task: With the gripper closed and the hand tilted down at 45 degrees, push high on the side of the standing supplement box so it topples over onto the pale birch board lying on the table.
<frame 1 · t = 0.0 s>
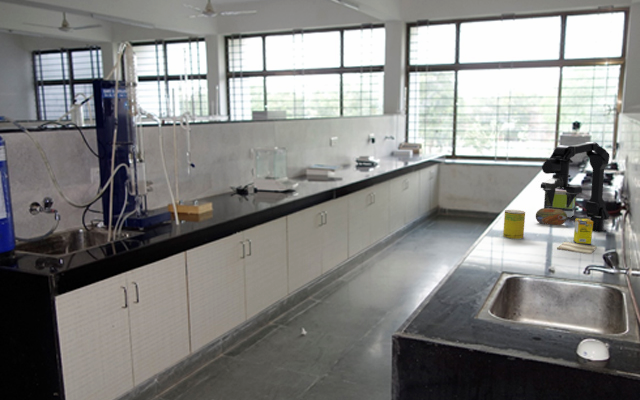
hand: (559, 205, 244), 15 cm above the counter, tool pointing down, fingers open, 9 cm apart
birch board: (576, 248, 224), on the counter
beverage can: (513, 236, 245), on the counter
tea box: (558, 215, 296), on the counter
supplement box: (582, 244, 233), on the counter
tin: (550, 224, 273), on the counter
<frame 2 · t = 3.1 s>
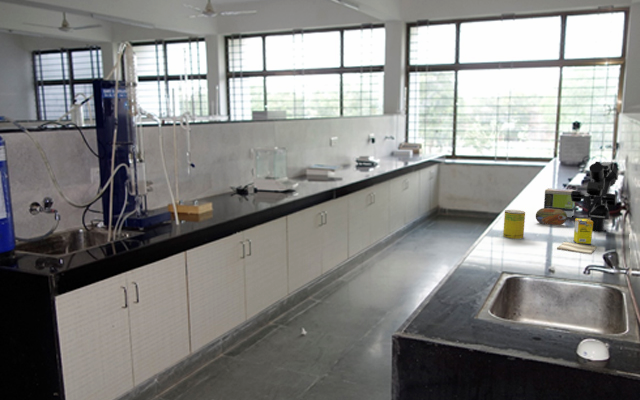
hand: (589, 212, 239), 13 cm above the counter, tool tilted 45°, fingers closed
nothing on the counter moved.
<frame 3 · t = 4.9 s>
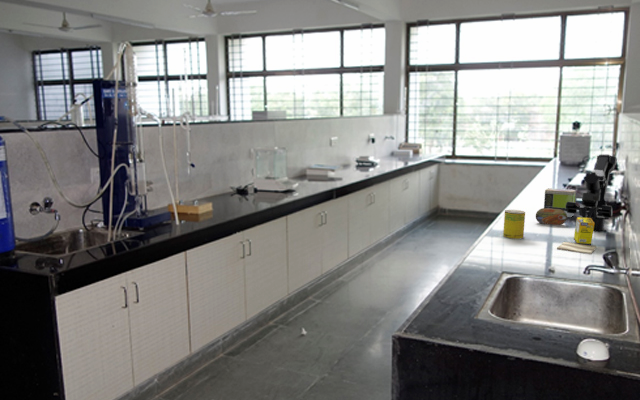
hand: (584, 224, 233), 9 cm above the counter, tool tilted 45°, fingers closed
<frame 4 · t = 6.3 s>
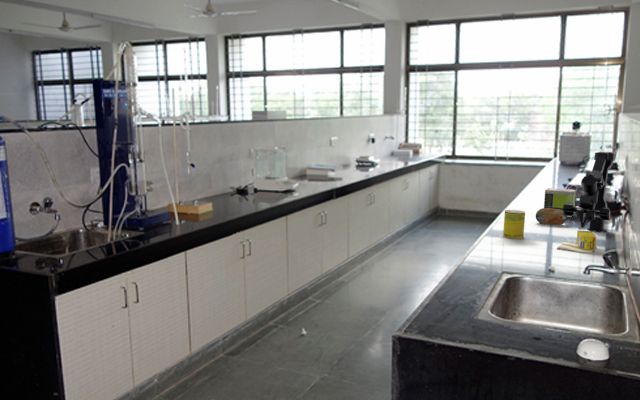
hand: (582, 227, 229), 8 cm above the counter, tool tilted 45°, fingers closed
supplement box: (584, 236, 230), point 4 cm above the counter, touching birch board
everything else where it was.
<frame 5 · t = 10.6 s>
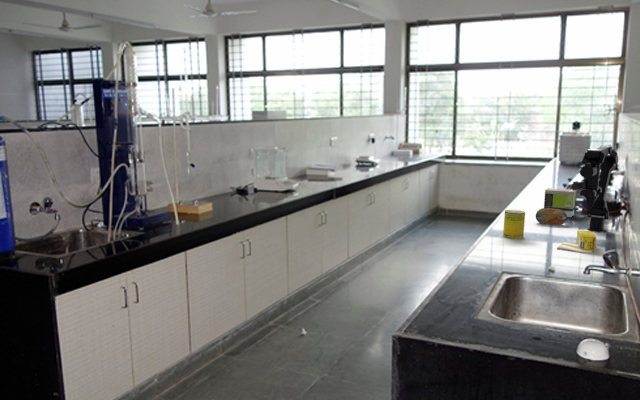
hand: (589, 209, 245), 13 cm above the counter, tool pointing down, fingers closed
nothing on the counter moved.
at the end: supplement box tilted 90°; supplement box moved 4.3 cm from its start; supplement box 8.5 cm from the birch board (horizontally) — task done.
